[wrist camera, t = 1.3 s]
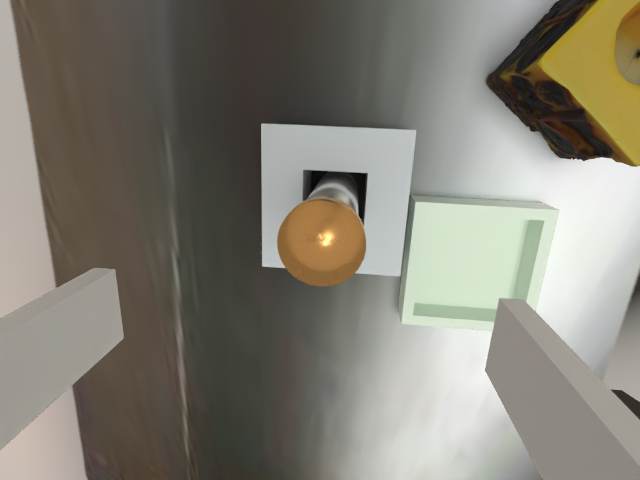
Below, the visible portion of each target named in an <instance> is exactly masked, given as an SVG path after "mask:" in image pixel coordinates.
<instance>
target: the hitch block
mask: <svg viewBox="0 0 640 480" xmlns="http://www.w3.org/2000/svg"><path fill="white" fill-rule="evenodd" d="M416 131H417V130H410V129H390V128H366V127H342V126H318V125H294V124H261V160H262V266H263V267H277V268H285V266H284V265H283V263H282V261H281V259H280V256H279V253H278V249H277V236H278V232H279V229H280V226H281V224H282V222H283V221H284V219H285V218H286V216H287V215H288V214H289V213H290V211H291V210H292V209H293V208H294V207H295V206H297V205H298V204H300V203H301V202H303V201H305V200H307V198H308V197H309V195H310V194H311V171H312V170H318V171H338V172H357V173H366V177H365V191H364V204H363V217H362V219H361V218H360V219H361V221H362V223H363V225H364V229H365V235H366V252H365V256H364V260H363V262H362V264H361V266H360V267H359V269H358V270H357V271H356V272H355V273H359V274H373V275H387V276H400V274H401V265H402V256H403V247H404V239H405V230H406V221H407V212H408V203H409V194H410V185H411V176H412V167H413V158H414V149H415V140H416Z"/></svg>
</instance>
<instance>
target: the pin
mask: <svg viewBox="0 0 640 480" xmlns="http://www.w3.org/2000/svg"><path fill="white" fill-rule="evenodd" d="M277 249H278V253H279V256H280V259H281V261H282V263H283V265H284V266H285V268H286V269H287V270H288V271H289V272H290V273H291V274H292V275H293V276H294V277H295V278H297V279H298V280H300V281H302V282H304V283H307V284H310V285H314V286H332V285H336V284H339V283H341V282H343V281H345V280H347V279H348V278H350V277H351V276H352V275H353V274H354V273H355V272H356V271H357V270H358V269H359V267H360V266H361V264H362V262H363V260H364V256H365V252H366V235H365V229H364V225H363V223H362V221H361V219H360V217H359V216H358V186H357V183H356V181H355V179H354V178H353V177H352V176H351V175H350V174H349V173H347V172H338V171H330V172H328V173H326V174H325V175H324V176H323V177H322V178H321V179H320V181H319V182H318V184H317V185H316V187H315V188H314V190H313V191H312V193H311V194H310V195H309V197H308V198H307V200H305V201H303V202H301V203H300V204H298V205H297V206H295V207H294V208H293V209H292V210H291V211H290V213H289V214H288V215H287V216H286V218H285V219H284V221H283V222H282V224H281V226H280V229H279V232H278V236H277Z"/></svg>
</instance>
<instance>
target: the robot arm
mask: <svg viewBox="0 0 640 480" xmlns="http://www.w3.org/2000/svg"><path fill="white" fill-rule="evenodd" d="M123 338H124V335H123V327H122V320H121V312H120V304H119V296H118V289H117V281H116V273H115V269H104V268H93V269H91V270H89V271H87V272H86V273H84V274H82V275H80V276H78V277H76V278H74V279H73V280H71V281H69V282H67V283H65V284H63V285H61V286H60V287H58V288H56V289H54V290H52V291H50V292H49V293H47V294H45V295H43V296H41V297H40V298H38V299H36V300H34V301H32V302H30V303H28V304H26V305H24V306H23V307H21V308H19V309H17V310H15V311H13V312H11V313H10V314H8V315H6V316H4V317H2V318H0V450H1V449H2V448H4V447H5V446H6V445H7V444H8V443H9V442H10V441H11V440H12V439H13V438H15V437H16V436H17V435H18V434H19V433H20V432H21V431H22V430H23V429H24V428H25V427H27V426H28V425H29V424H30V423H31V422H32V421H33V420H34V419H35V418H37V417H38V416H39V415H40V414H41V413H42V412H43V411H44V410H45V409H46V408H48V407H49V406H50V405H51V404H52V403H53V402H54V401H55V400H56V399H57V398H59V397H60V396H61V395H62V394H63V393H64V392H65V391H66V390H67V389H68V388H70V387H71V386H72V385H73V384H74V383H75V382H76V381H77V380H78V379H79V378H81V377H82V376H83V375H84V374H85V373H86V372H87V371H88V370H89V369H90V368H92V367H93V366H94V365H95V364H96V363H97V362H98V361H99V360H100V359H101V358H103V357H104V356H105V355H106V354H107V353H108V352H109V351H110V350H111V349H112V348H113V347H115V346H116V345H117V344H118V343H119V342H120V341H121V340H122V339H123ZM485 371H486V373H487V375H488V377H489V379H490V380H491V382H492V384H493V386H494V388H495V390H496V392H497V394H498V396H499V398H500V399H501V401H502V403H503V405H504V407H505V409H506V411H507V413H508V415H509V417H510V418H511V420H512V422H513V424H514V426H515V428H516V430H517V432H518V434H519V436H520V437H521V439H522V441H523V443H524V445H525V447H526V449H527V451H528V453H529V455H530V456H531V458H532V460H533V462H534V464H535V466H536V468H537V470H538V472H539V473H540V475H541V477H542V479H543V480H640V402H639V401H637V400H636V399H634V398H633V397H631V396H629V395H628V394H626V393H625V392H623V391H621V390H611V389H609V388H608V387H607V385H606V384H605V383H604V382H603V381H602V380H601V379H600V378H599V377H598V376H597V375H596V374H595V373H594V372H593V371H592V370H591V369H590V368H589V367H588V366H587V365H586V364H585V363H584V362H583V361H582V360H581V359H580V357H579V356H578V355H577V354H576V353H575V352H574V351H573V350H572V349H571V348H570V347H569V346H568V345H567V344H566V343H565V342H564V341H563V340H562V339H561V338H560V337H559V336H558V335H557V334H556V333H555V332H554V331H553V329H552V328H551V327H550V326H549V325H548V324H547V323H546V322H545V321H544V320H543V319H542V318H541V317H540V316H539V315H538V314H537V313H536V312H535V311H534V310H533V309H532V308H531V307H530V306H529V305H528V304H527V303H526V301H525V300H522V299H508V298H499V302H498V307H497V312H496V317H495V322H494V327H493V333H492V338H491V343H490V348H489V353H488V358H487V363H486V368H485Z"/></svg>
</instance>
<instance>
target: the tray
mask: <svg viewBox="0 0 640 480" xmlns="http://www.w3.org/2000/svg"><path fill="white" fill-rule="evenodd" d="M558 214H559V210H558V209H556V208H554V207H551V206H549V205H547V204H544V203H542V202H528V201H510V200H492V199H474V198H456V197H438V196H420V195H411V196H410V204H409V213H408V222H407V231H406V240H405V249H404V258H403V267H402V276H401V284H400V293H399V302H398V311H399V315H400V320H401V324H410V325H422V326H435V327H447V328H459V329H471V330H483V331H493V327H494V322H495V317H496V312H497V307H498V302H499V298H508V299H522V300H525V301H526V303H527V304H528V305H529V306H530V307H531V308H532V309H533V310H534V311H535V312H536V307H537V303H538V299H539V294H540V290H541V286H542V282H543V277H544V273H545V269H546V265H547V260H548V256H549V252H550V248H551V243H552V239H553V235H554V231H555V226H556V222H557V218H558Z"/></svg>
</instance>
